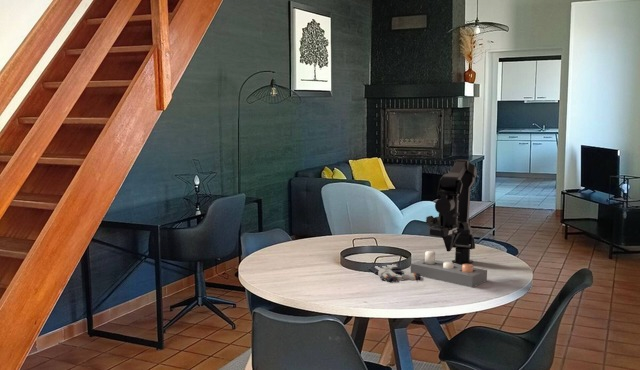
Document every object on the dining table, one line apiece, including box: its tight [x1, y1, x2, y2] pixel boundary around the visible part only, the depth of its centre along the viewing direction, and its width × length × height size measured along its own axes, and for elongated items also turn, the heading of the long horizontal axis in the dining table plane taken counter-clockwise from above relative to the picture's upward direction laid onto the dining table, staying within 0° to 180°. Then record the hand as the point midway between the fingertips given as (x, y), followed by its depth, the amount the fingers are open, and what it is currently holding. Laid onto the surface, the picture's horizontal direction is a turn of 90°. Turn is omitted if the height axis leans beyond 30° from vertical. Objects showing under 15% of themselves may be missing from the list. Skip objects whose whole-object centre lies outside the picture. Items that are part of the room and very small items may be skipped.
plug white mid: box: [443, 261, 455, 269], centre depth 231 cm, size 4×4×5 cm
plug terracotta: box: [461, 263, 474, 273], centre depth 226 cm, size 4×4×5 cm
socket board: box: [410, 258, 488, 288], centre depth 231 cm, size 11×26×4 cm, turn 47°
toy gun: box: [369, 261, 422, 283], centre depth 235 cm, size 3×20×15 cm
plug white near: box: [424, 250, 436, 265], centre depth 236 cm, size 4×4×5 cm
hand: (448, 251), depth 230 cm, fingers closed
